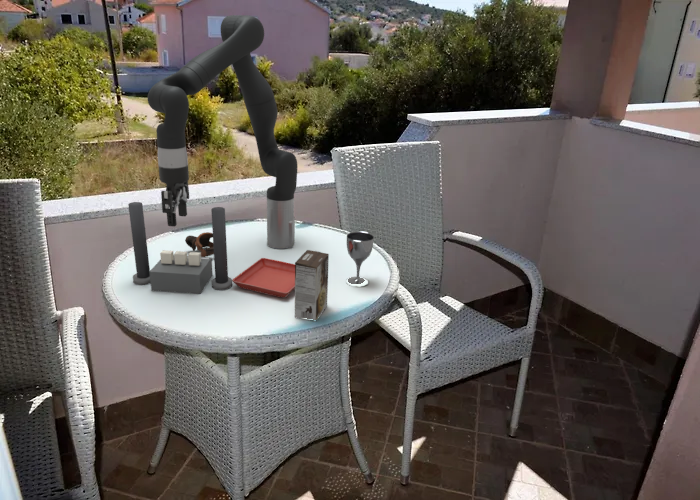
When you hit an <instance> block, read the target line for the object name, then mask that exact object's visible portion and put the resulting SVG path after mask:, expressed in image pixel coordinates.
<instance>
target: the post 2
mask: <svg viewBox="0 0 700 500" xmlns="http://www.w3.org/2000/svg"><path fill="white" fill-rule="evenodd" d="M210 211H211V223H212V225H211V227H212V233H213V237H212V243H213V247H214V254H213V259H214V260H213V262H214V263H213V264H214V278H211V279H210V282H211V284H210V285H211V288H212V289H213V290H217V291H225V290H228V289H231V288H232V287H233V283H234V282H233V281H232V280H233V278H232V277H229V268H228V253H227V252H228V251H227V248H228V247H227V246H228V245H227V229H226V228H227V227H226V226H227V225H226V208H225V207H223V206H221V207H220V206H216V207H212V208H211V210H210Z"/></svg>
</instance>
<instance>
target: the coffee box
mask: <svg viewBox="0 0 700 500" xmlns="http://www.w3.org/2000/svg"><path fill="white" fill-rule="evenodd" d="M329 255H330V254H329V253H326V252H321V251H317V250H311V249H306V251H305V252H304V253H303V254H301V256H300V257H299V258H298V259H297V260H296V261H295V262H294V264H295V289H294V318H296V317H297V318H296V319H300V318H307V319H313V320H317V319H318V320H319V318H320V317H321V315H322V314H323V313H322V312H324V311H325V310H326V308H327V307H328V290H329V289H328V286H329ZM324 309H325V310H324ZM321 313H322V314H321ZM319 316H320V317H319ZM318 317H319V318H318ZM318 320H317V321H318Z"/></svg>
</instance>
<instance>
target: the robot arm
mask: <svg viewBox="0 0 700 500" xmlns="http://www.w3.org/2000/svg"><path fill="white" fill-rule="evenodd" d="M220 36H221V41H222V42H220V43H219V44H218V45H215V46H214V47H211V48H209V49H207V50H206V51H203V52H201V53H199V54H198V55H196V56H194V57H193V58H192V59H190V60H189V61H188V62H187V63H186V64H185V65H183V66H182V67H181V68H180V69H179V70H178V71H176V72H175V73H172V74H171V75H169V76H166V77H165V78H163V79H161V80H159V81H158V82H156V83H154V85H152V86H151V88H150V89H149V91H148V94H147V103H148V105H149V107H150V108H151V109H152V110H153V111H155V112H157V113H161V114H164V121H163V122H162V123H160V124H158V125H157V126H156V139H157V140H156V141H157V163H158V175H159V181H160V182H161V183H164V184H165V185H166V187H165V190H161V191H160V196H161V197H160V198H161V212H162V213H163V214H166V220H167V222H166V223H167V226H169V227H174V228H175V227H176V226H177V224H178V223H177V214H176V212H177V209H178V212H177V213H178V216H179V217H186V216H188V208H187V203H188V200H189V199H190V190H189V180H190V175H189V174H190V173H189V161H188V160H189V159H188V158H189V157H188V151H187V145H186V133H185V132H186V127H187V121H188V115H189V112H190V111H189V109H190V101H189V98H188V96H193V95H196V94H198V93H199V92H200V91H202V90H203V89H204V88H205V87H206V86H207V85H209V83H211V81H213V80H214V79H215V78H216V77H217V76H218V75H219V74H220V73H222V72H224V71H225V70H226V69H228V68H229V67H231V65H232V68H233V70H234V73H235V75H236V76H235V77H236V79H237V81H238V85H239V87H240V91H241V94H242V98H243V102H244V105H245V109H246V112H247V115H248V117H249V121H250V123H251V126H252V130H253V133H254V134H253V135H254V138H255V142H256V146H257V151H258V156H259V157H258V158H259V161H260V166H261V169H262V171H263V172H264V173H265V174H266V175H268V176H270V177H273V178H275V185H274V186H270V187H268V188H267V189H266V234H267V236H266V244H267V246H268V247H270V248H272V249H277V250H278V249H283V250H285V249H292V248H293V247H294V244H295V243H296V242H295V241H296V240H295V239H296V238H295V237H296V236H295V235H296V225H295V222H296V217H295V192H296V190H297V189H296V188H297V185H298V184H297V183H298V181H297V180H298V159H297V157H296V156H295V153H293V152H289V151H288V150H284V149H280V148H279V147H278V144H277V140H276V137H275V126H276V123H277V119H278V112H279V111H278V106H277V102H276V101H277V100H276V98H275V95H274V91H273V89H272V87H271V85H270V84H269V82H268V81H267V79H266V78H265V77H264V76H263V74H262V73H261V72H260V70H259V69H258V68H257V66H256V64H255V62H254V60H253V58H252V54H251V53H253V52H254V51H256V50H257V49H259V48H260V46H261V45H262V43H263V42H264V39H265V29H264V24H263V23H262V22H261V21H260V19H258V17H255V16H252V15H246V14H242V15H238V14H237V15H227V16H226V17H224V18H223V19H222V21H221V23H220Z"/></svg>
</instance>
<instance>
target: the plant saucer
mask: <svg viewBox="0 0 700 500" xmlns="http://www.w3.org/2000/svg"><path fill="white" fill-rule="evenodd" d="M232 283H234V285H236V286H237V287H239V288H240V289H244V290H248V291H252V292H256V293H257V292H258V293H261V294H266V295H269V296H273V297H277V298H286V297H288V295H290V294H291V293H292V292H293V291H295V263H290V262H285V261H280V260H276V259H272V258H267V257H261V258H259V259H258V260H257V261H256V262H254V263H253V264H251V265H250V266H248V267H247V268H246V269H244V270H243V271H242V272H241V273H239V274H238V275H237V276H235V277H234V278H232Z"/></svg>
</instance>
